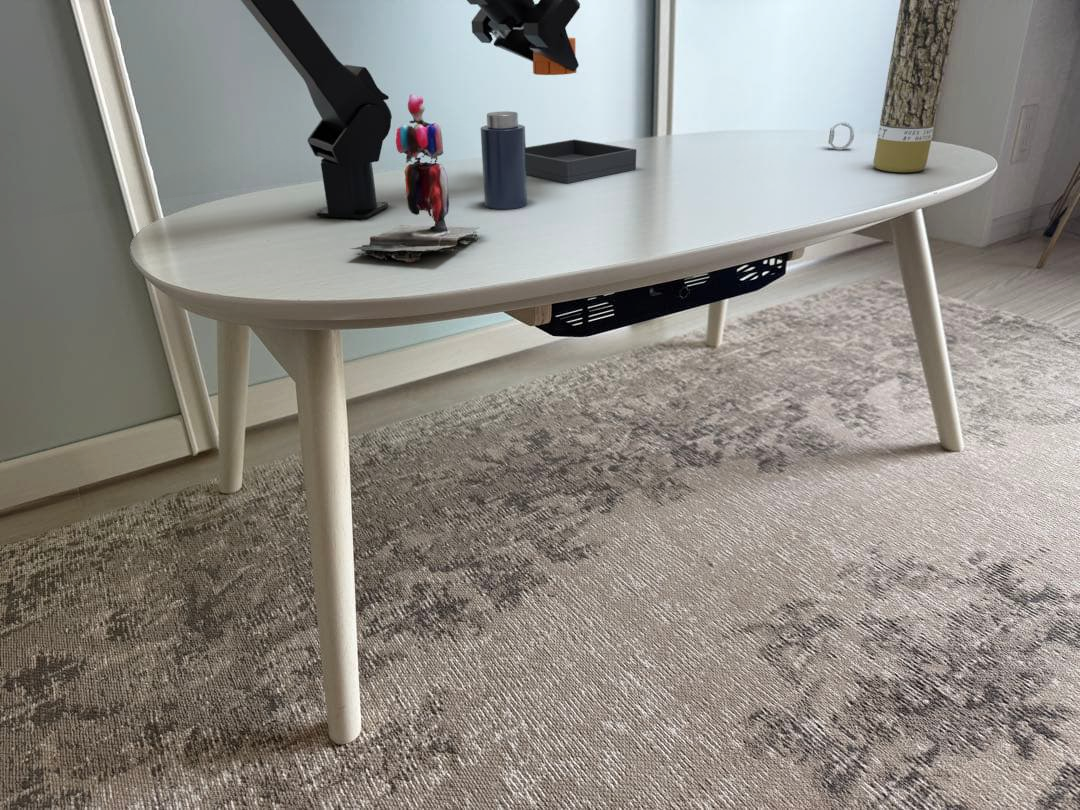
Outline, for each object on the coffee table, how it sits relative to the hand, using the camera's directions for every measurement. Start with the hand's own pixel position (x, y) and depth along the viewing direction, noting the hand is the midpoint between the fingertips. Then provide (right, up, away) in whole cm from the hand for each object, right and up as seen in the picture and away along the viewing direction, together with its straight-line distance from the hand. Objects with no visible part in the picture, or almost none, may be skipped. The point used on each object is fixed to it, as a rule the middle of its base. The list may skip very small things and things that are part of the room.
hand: (563, 67), depth 101 cm
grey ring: (+44, -4, +22) cm, 49 cm away
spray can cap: (-1, -1, 0) cm, 2 cm away
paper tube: (+47, -11, +7) cm, 49 cm away
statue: (-15, -28, -22) cm, 39 cm away
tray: (+1, -10, +12) cm, 16 cm away
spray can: (-7, -19, -6) cm, 21 cm away
